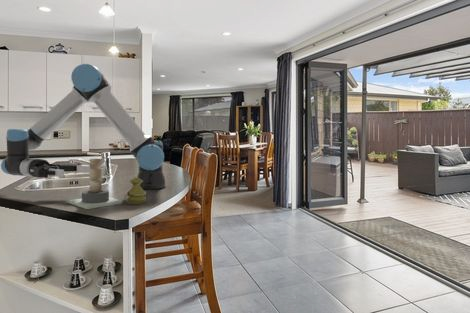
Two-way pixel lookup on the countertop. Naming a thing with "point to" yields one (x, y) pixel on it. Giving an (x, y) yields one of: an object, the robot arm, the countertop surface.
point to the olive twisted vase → (136, 192)
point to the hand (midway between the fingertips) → (77, 171)
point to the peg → (95, 175)
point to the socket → (95, 200)
